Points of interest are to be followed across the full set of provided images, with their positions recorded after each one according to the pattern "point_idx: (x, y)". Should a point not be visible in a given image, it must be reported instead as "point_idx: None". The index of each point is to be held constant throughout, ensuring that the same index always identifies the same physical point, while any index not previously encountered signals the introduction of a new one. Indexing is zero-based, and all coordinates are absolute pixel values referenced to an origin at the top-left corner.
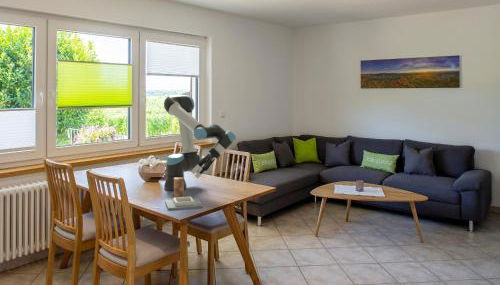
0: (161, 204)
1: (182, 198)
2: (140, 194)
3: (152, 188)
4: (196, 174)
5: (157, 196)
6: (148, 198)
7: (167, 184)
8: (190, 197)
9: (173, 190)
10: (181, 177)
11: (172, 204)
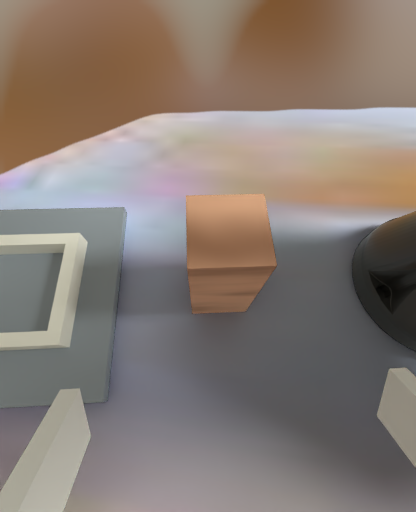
0: (88, 197)
1: (59, 285)
2: (284, 134)
3: (400, 178)
4: (43, 427)
5: (239, 190)
6: (210, 157)
7: (392, 222)
8: (36, 336)
9: (352, 267)
10: (259, 255)
11: (19, 233)
